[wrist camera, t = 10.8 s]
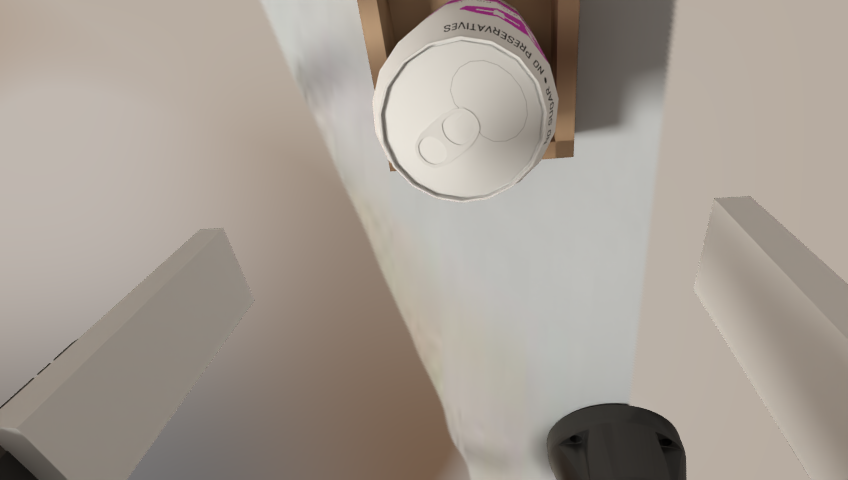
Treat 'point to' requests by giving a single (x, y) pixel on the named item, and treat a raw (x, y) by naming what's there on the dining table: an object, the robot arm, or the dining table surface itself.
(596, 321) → the dining table surface
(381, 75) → the supplement can
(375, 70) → the walnut caddy
